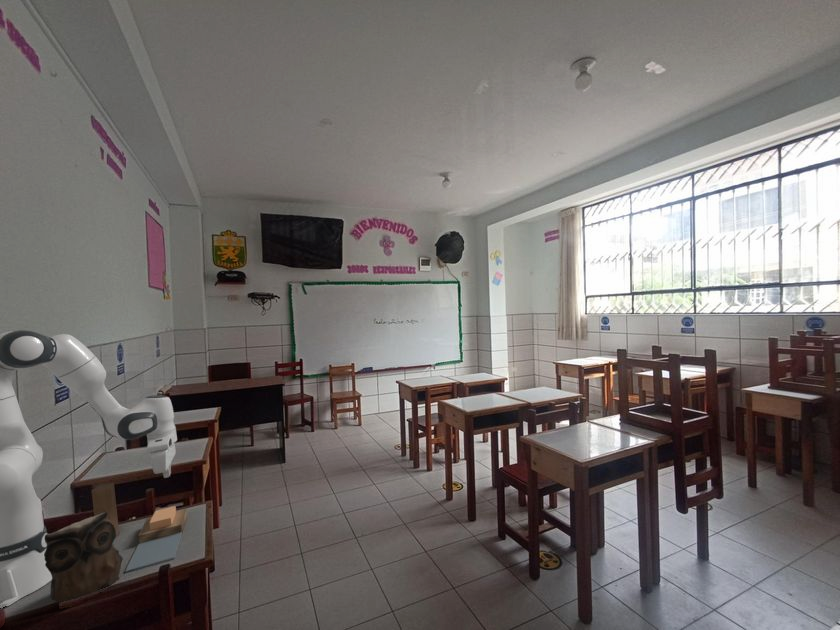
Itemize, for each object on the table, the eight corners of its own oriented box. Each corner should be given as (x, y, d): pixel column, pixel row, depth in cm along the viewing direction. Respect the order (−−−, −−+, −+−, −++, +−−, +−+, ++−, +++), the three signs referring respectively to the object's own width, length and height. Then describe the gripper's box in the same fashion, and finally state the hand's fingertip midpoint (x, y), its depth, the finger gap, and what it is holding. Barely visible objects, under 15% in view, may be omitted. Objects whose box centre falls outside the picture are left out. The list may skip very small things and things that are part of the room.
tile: (150, 530, 129) (149, 523, 129) (156, 517, 137) (155, 510, 137) (171, 525, 131) (170, 517, 131) (176, 512, 140) (175, 505, 140)
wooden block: (81, 546, 128) (75, 492, 128) (90, 538, 133) (84, 486, 132) (112, 541, 130) (106, 487, 129) (119, 533, 134) (114, 481, 134)
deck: (138, 544, 126) (138, 535, 126) (147, 526, 138) (147, 518, 137) (182, 533, 131) (181, 524, 131) (187, 516, 142) (186, 508, 142)
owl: (127, 575, 112) (119, 505, 111) (90, 610, 99) (81, 532, 98) (81, 579, 111) (74, 510, 111) (39, 614, 99) (30, 536, 98)
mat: (125, 572, 113) (125, 571, 113) (138, 544, 126) (138, 543, 126) (174, 558, 117) (173, 557, 117) (182, 533, 131) (181, 531, 131)
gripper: (158, 433, 152) (163, 468, 152) (145, 449, 133) (151, 489, 133) (177, 429, 154) (181, 463, 155) (167, 445, 135) (172, 484, 136)
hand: (167, 476), depth 144 cm, fingers closed
